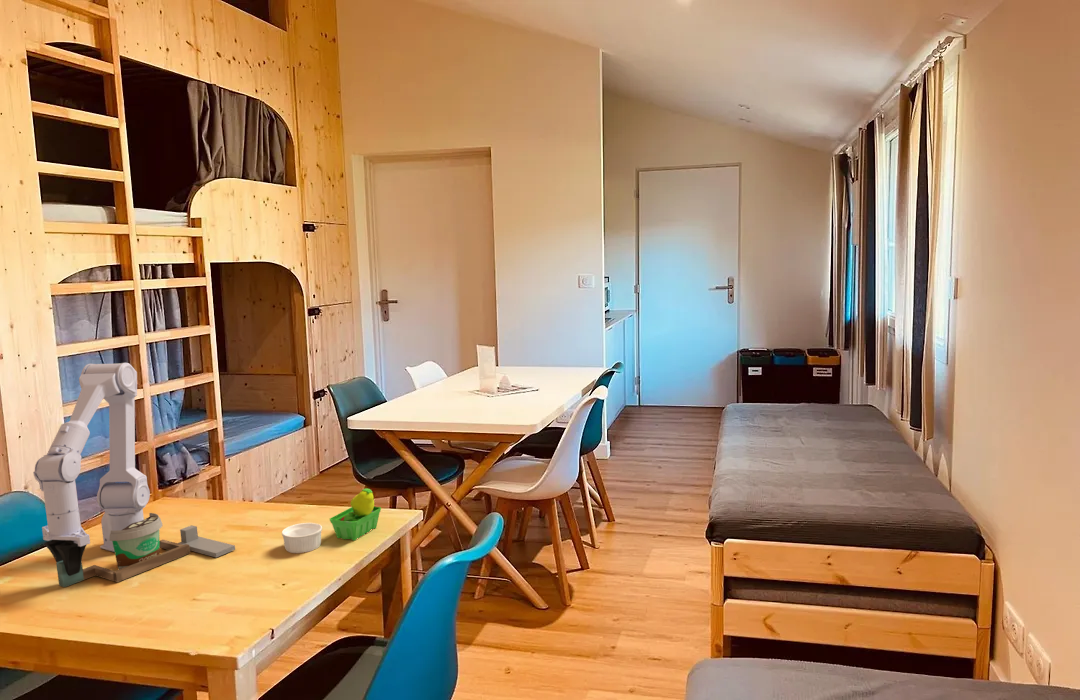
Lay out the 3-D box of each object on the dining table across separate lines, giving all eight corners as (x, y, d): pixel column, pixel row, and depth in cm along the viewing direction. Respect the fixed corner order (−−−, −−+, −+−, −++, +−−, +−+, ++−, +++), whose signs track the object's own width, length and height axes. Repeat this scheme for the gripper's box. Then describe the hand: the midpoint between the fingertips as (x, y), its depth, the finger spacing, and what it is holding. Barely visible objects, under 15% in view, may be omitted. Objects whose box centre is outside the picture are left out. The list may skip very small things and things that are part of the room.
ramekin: (329, 540, 178) (327, 522, 178) (314, 554, 170) (312, 536, 169) (293, 540, 179) (291, 522, 179) (276, 554, 170) (275, 536, 170)
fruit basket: (358, 523, 188) (355, 479, 187) (388, 527, 185) (385, 482, 184) (329, 540, 178) (325, 493, 177) (360, 544, 175) (356, 497, 173)
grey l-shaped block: (177, 547, 176) (176, 530, 176) (197, 539, 181) (195, 523, 180) (216, 557, 169) (214, 540, 169) (235, 549, 174) (233, 532, 173)
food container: (137, 578, 160) (132, 533, 159) (113, 576, 162) (108, 531, 161) (178, 555, 172) (174, 513, 171) (155, 553, 174) (151, 511, 172)
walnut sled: (59, 585, 158) (56, 562, 157) (163, 546, 178) (161, 525, 177) (85, 594, 152) (82, 571, 152) (190, 553, 173) (188, 532, 172)
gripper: (23, 511, 157) (31, 573, 159) (61, 521, 150) (69, 586, 151) (59, 501, 163) (66, 561, 165) (96, 510, 156) (104, 573, 157)
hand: (70, 572), depth 158 cm, fingers closed on walnut sled, 2 cm apart
